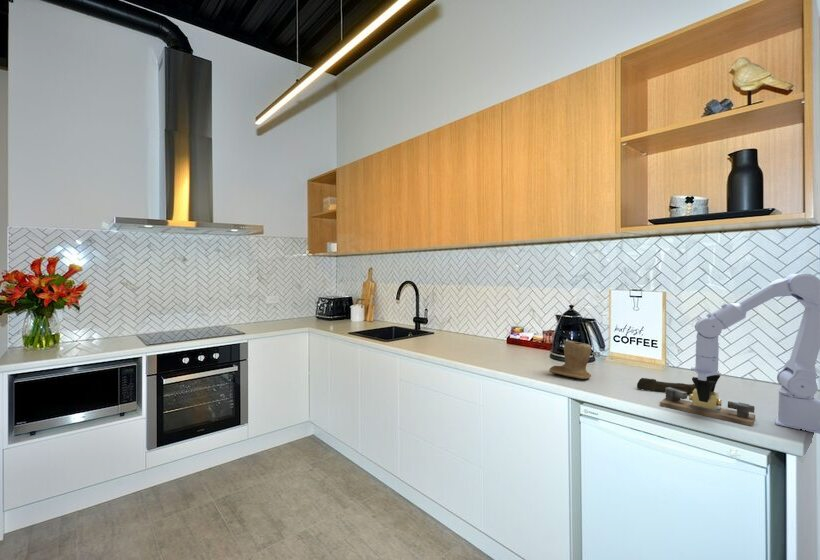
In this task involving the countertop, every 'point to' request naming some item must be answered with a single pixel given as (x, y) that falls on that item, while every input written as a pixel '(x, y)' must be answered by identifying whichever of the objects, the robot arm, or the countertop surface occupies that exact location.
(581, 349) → the brown flared stand
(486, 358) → the countertop surface
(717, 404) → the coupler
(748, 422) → the shaft stand
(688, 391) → the hand tool
